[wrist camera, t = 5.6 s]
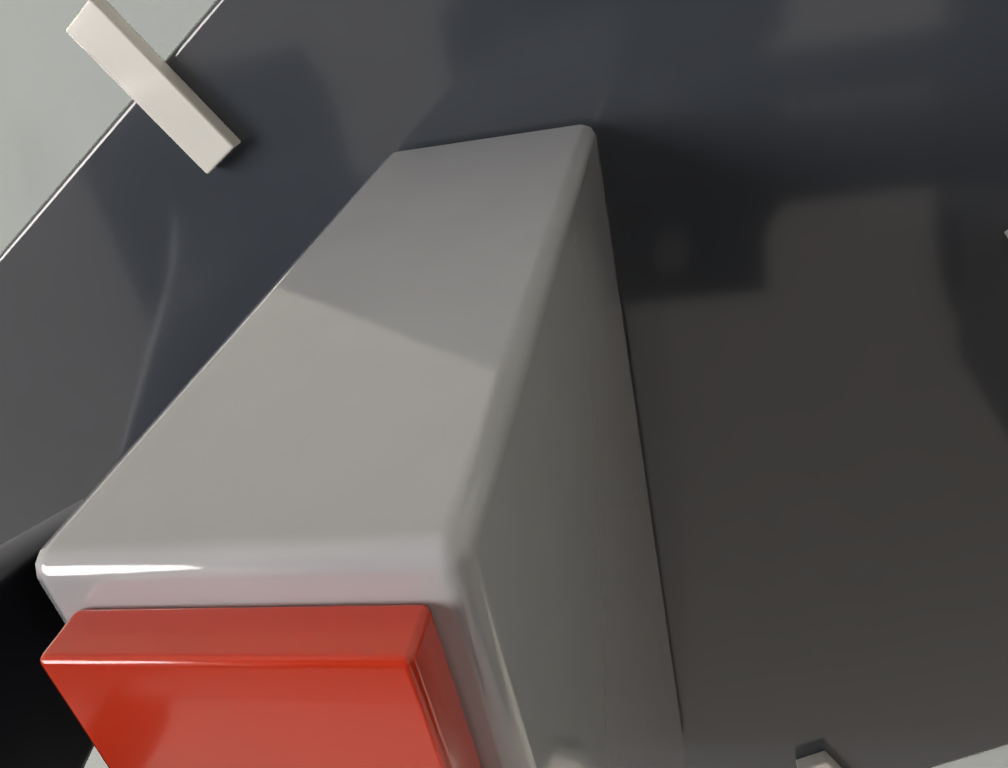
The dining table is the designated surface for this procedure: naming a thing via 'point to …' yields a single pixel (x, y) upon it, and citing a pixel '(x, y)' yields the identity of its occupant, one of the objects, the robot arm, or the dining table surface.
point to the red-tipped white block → (391, 503)
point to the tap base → (644, 304)
